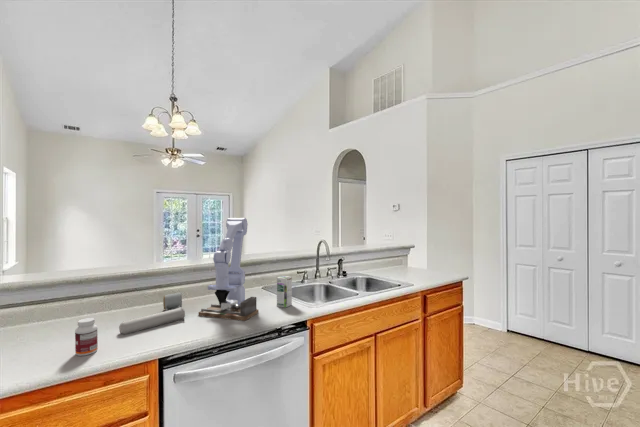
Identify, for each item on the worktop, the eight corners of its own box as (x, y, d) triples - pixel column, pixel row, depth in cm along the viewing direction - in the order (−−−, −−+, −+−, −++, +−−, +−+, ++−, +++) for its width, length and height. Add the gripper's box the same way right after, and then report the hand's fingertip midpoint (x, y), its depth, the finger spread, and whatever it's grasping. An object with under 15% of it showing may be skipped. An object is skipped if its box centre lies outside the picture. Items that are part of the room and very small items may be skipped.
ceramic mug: (163, 308, 163) (163, 292, 162) (182, 306, 166) (181, 290, 166) (162, 314, 153) (162, 298, 153) (182, 312, 156) (181, 296, 156)
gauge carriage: (217, 313, 148) (217, 304, 148) (228, 307, 157) (228, 299, 157) (232, 315, 146) (232, 306, 146) (243, 309, 154) (243, 300, 154)
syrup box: (276, 306, 165) (276, 277, 165) (282, 303, 170) (282, 275, 170) (285, 307, 163) (285, 278, 162) (292, 304, 168) (292, 276, 168)
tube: (122, 327, 126) (185, 311, 145) (117, 319, 129) (180, 304, 148) (121, 339, 127) (184, 321, 146) (116, 331, 130) (178, 315, 149)
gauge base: (198, 315, 151) (198, 299, 151) (214, 308, 162) (214, 292, 162) (245, 320, 144) (245, 303, 144) (258, 312, 155) (258, 296, 155)
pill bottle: (77, 350, 114) (76, 318, 113) (98, 347, 116) (98, 315, 116) (73, 357, 108) (73, 324, 108) (96, 354, 111) (96, 321, 111)
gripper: (203, 277, 152) (203, 307, 152) (231, 279, 148) (231, 309, 148) (212, 274, 159) (212, 302, 159) (239, 276, 155) (239, 305, 155)
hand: (222, 306), depth 154 cm, fingers closed
